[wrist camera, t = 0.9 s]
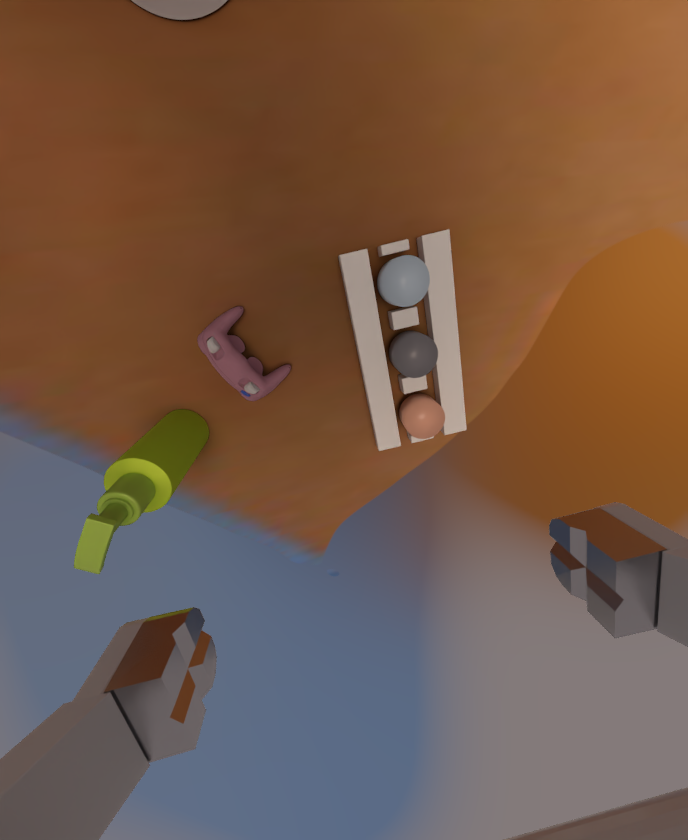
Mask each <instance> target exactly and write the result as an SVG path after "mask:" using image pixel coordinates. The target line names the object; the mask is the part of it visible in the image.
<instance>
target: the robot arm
mask: <svg viewBox="0 0 688 840" xmlns="http://www.w3.org/2000/svg"><path fill="white" fill-rule="evenodd" d="M131 1H133V2H134V3H135V4H137V5H138V6H140V7H142V8H143V9H145V10H147V11H149V12H151V13H153V14H156V15H158V16H162V17H165V18H170V19H176V20H189V19H196V18H200V17H203V16H205V15H208V14H210V13H212V12H214V11H215V10H217V9H218V8H220V7H221V6H222V5H223V4H224V3H225V2H227V1H228V0H131ZM549 531H550V533H549V534H550V536H551V537H552V538H553V539H554V540H555V541H556V543H555V544H554V546H553V548H552V549H551V551H550V555H551V564H552V567H553V569H554V572H555V574H556V576H557V578H558V579H559V581H560V582H561V584H562V585H563V586H564V587H565V588H566V589H567V591H568V592H569V593H570V594H572V595H574V596H576V597H579V598H581V599H583V600H585V601H586V602H587V610H588V612H589V613H590V614H591V615H592V616H593V617H594V618H595V619H596V620H597V621H598V622H599V623H600V624H601V625H602V626H603V627H604V628H605V629H606V630H607V631H608V632H609V633H610V634H611V635H612V636H613V637H614V638H619V637H623V636H627V635H631V634H636V633H640V632H645V631H649V630H654V629H657V631H658V632H660V633H662V634H664V635H666V636H668V637H669V638H671V639H674V640H675V641H677V642H679V643H681V644H683V645H685V646H687V647H688V539H686V538H684V537H682V536H681V535H679V534H677V533H675V532H674V531H672V530H670V529H668V528H666V527H664V526H662V525H661V524H659V523H657V522H655V521H654V520H652V519H650V518H648V517H646V516H644V515H643V514H641V513H639V512H637V511H636V510H634V509H632V508H630V507H628V506H626V505H625V504H621V503H616V502H614V503H611V504H607V505H603V506H600V507H596V508H594V509H591V510H587V511H583V512H579V513H575V514H571V515H567V516H563V517H559V518H555V519H552V520H551V523H550V525H549ZM204 622H205V620H204V618H203V616H202V613H201V611H200V609H198V608H194V607H193V608H189V609H184V610H179V611H175V612H170V613H166V614H162V615H157V616H152V617H149V618H145V619H141V620H136V621H132V622H127V623H126V624H124V625H123V626H121V627H120V628H119V630H118V631H117V632H116V634H115V636H114V637H113V639H112V640H111V642H110V644H109V645H108V647H107V648H106V650H105V651H104V653H103V655H102V656H101V658H100V659H99V661H98V662H97V664H96V665H95V667H94V669H93V670H92V672H91V673H90V675H89V676H88V678H87V679H86V681H85V683H84V684H83V686H82V687H81V689H80V691H79V692H78V693H77V695H76V697H75V698H74V700H73V701H72V702H69V703H65V704H63V705H62V706H61V707H60V708H58V709H57V710H56V711H55V712H54V713H53V714H52V715H50V717H48V718H47V719H46V720H45V721H44V722H42V723H41V724H40V725H39V726H38V727H37V728H36V729H35V730H33V731H32V732H31V733H30V734H29V735H28V736H26V737H25V738H24V739H23V740H22V741H21V742H20V743H18V744H17V745H16V746H15V747H14V748H13V749H12V750H10V751H9V752H8V753H7V754H6V755H5V756H4V757H3V758H1V759H0V840H99V838H100V837H101V835H102V834H103V833H104V831H105V830H106V828H107V827H108V825H109V824H110V822H111V821H112V820H113V818H114V817H115V815H116V814H117V812H118V811H119V809H120V808H121V807H122V805H123V804H124V802H125V801H126V799H127V798H128V796H129V795H130V793H131V792H132V791H133V789H134V788H135V786H136V785H137V783H138V782H139V781H140V779H141V778H142V776H143V775H144V773H145V772H146V770H147V769H148V768H149V766H150V765H149V762H153V761H156V760H160V759H163V758H167V757H170V756H173V755H176V754H180V753H183V752H187V751H190V750H193V749H195V748H196V744H197V741H198V737H199V734H200V730H201V726H202V722H203V719H204V715H205V712H206V709H205V707H204V704H203V702H202V699H203V698H204V696H205V695H206V694H207V693H208V691H209V690H210V689H211V688H212V685H213V682H214V678H215V673H216V658H217V657H216V650H215V645H214V642H213V640H212V637H211V636H210V635H208V634H207V633H205V632H203V631H202V627H203V624H204ZM504 840H688V787H687V788H684V789H680V790H677V791H673V792H670V793H666V794H663V795H659V796H656V797H652V798H648V799H645V800H642V801H638V802H635V803H631V804H628V805H624V806H620V807H617V808H613V809H610V810H606V811H603V812H599V813H596V814H593V815H589V816H585V817H582V818H578V819H575V820H571V821H568V822H564V823H561V824H557V825H554V826H550V827H547V828H543V829H540V830H536V831H533V832H529V833H525V834H522V835H518V836H515V837H512V838H508V839H504Z"/></svg>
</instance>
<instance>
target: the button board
mask: <svg viewBox="0 0 688 840" xmlns="http://www.w3.org/2000/svg"><path fill="white" fill-rule="evenodd" d="M416 239H417V247H418V256H419V259H421V260H422V261H423V262H424V263H425V265H426V266H427V268H428V271H429V275H430V283H429V288H428V290H427V293H426V294H425V296H424V306H425V314H426V322H427V331H428V336H429V337H430V338H431V339H432V340H433V341H434V342H435V344H436V346H437V349H438V359H437V362H436V364H435V366H434V368H433V369H432V372H433V381H434V389H435V397H436V402H437V403H438V404H439V405H440V406H441V407H442V408H443V410H444V413H445V422H444V425H443V427H442V429H441V430H440V431H441V432H442V433H443V434H444V435H447V434H452V433H456V432H460V431H464V430H466V418H465V406H464V394H463V383H462V371H461V360H460V348H459V336H458V325H457V313H456V301H455V290H454V278H453V266H452V255H451V243H450V232H449V229H448V230H444V231H440V232H436V233H431V234H427V235H423V236H420V237H418V238H416ZM377 249H378V255H379V257H381V256H386V255H390V254H394V253H398V252H403V251H406V250H409V241H408V239H406V240H402V241H398V242H393V243H389V244H385V245H381V246H379V247H377ZM338 258H339V263H340V268H341V273H342V278H343V283H344V288H345V293H346V298H347V303H348V308H349V313H350V318H351V323H352V327H353V332H354V337H355V342H356V347H357V352H358V357H359V362H360V367H361V372H362V377H363V382H364V387H365V391H366V396H367V401H368V406H369V411H370V416H371V421H372V426H373V431H374V436H375V441H376V445H377V447H378V450H379V451H381V450H386V449H390V448H394V447H398V446H401V443H400V437H399V431H398V425H397V420H396V414H395V408H394V402H393V396H392V391H391V385H390V379H389V373H388V367H387V361H386V356H385V350H384V344H383V338H382V332H381V326H380V321H379V315H378V309H377V303H376V297H375V292H374V286H373V280H372V274H371V268H370V262H369V257H368V251H367V249H364V250H359V251H355V252H351V253H347V254H343V255H339V256H338ZM388 317H389V323H390V328H391V329H393V330H397V329H402V328H406V327H410V326H414V325H418V324H419V319H418V311H417V307H416V306H409V307H404V308H400V309H396V310H392V311H388ZM398 379H399V385H400V390H401V391H402V392H403V393H404V394H407V393H411V392H415V391H420V390H424V389H427V381H426V375H425V376H422V377H419V378H410V377H406V376H404V375H403V374H400V375H398ZM407 435H408V438H409V439H410V441H411V442H412V443H414V442H419V441H423V440H427V439H431V438H434V436H433V437H430V438H427V439H418V438H415V437H413V436H412V435H410V434H409V432H408V431H407Z"/></svg>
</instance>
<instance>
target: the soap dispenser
mask: <svg viewBox="0 0 688 840" xmlns="http://www.w3.org/2000/svg"><path fill="white" fill-rule="evenodd" d="M208 438H209V428H208V425H207V423H206V421H205V420H204V419H203V418H202V417H201V416H200V415H199V414H197V413H195V412H193V411H190V410H185V409H179V410H174V411H172V412H170V413H168V414H167V415H166V416H165V417H164V418H163V419H162V420H160V421H159V422H158V423H157V424H156V425H155V426H154V427H153V428H152V429H151V430H150V431H148V432H147V433H146V434H145V435H144V436H143V437H142V438H141V439H140V440H139V441H137V442H136V443H135V444H134V445H133V446H132V447H131V448H130V449H129V450H128V451H126V452H125V453H124V454H123V455H122V456H121V457H120V458H119V459H118V460H117V461H116V462H114V463H113V464H112V465H111V466H110V467H109V468H108V470H107V471H106V473H105V476H104V486H105V490H106V492H105V493H104V494H103V496H101V498H100V499H99V501H98V503H97V510H98V513H99V515H95V514H90V515H89V516H88V517H87V519H86V522H85V525H84V528H83V531H82V534H81V537H80V540H79V543H78V547H77V550H76V554H75V560H74V568H76V569H80V570H84V571H88V572H92V573H96V574H100V572H101V570H102V568H103V566H104V561H105V558H106V554H107V551H108V548H109V545H110V542H111V539H112V536H113V534H114V532H115V531H116V530H117V528H118V527H119V526H125V525H130V524H132V523H134V522H135V521H136V520H137V519H138V518H139V517H140V516H141V514H142V513H144V512H152V511H155V510H158V509H159V508H161V507H163V506H164V505H165V504H166V503H167V502H168V501H169V499H170V498H171V496H172V494H173V493H174V491H175V490H176V488H177V487H178V485H179V484H180V482H181V481H182V479H183V478H184V476H185V474H186V473H187V471H188V470H189V468H190V467H191V465H192V464H193V462H194V461H195V459H196V458H197V456H198V454H199V453H200V451H201V450H202V448H203V447H204V445H205V444H206V442H207V440H208Z"/></svg>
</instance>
